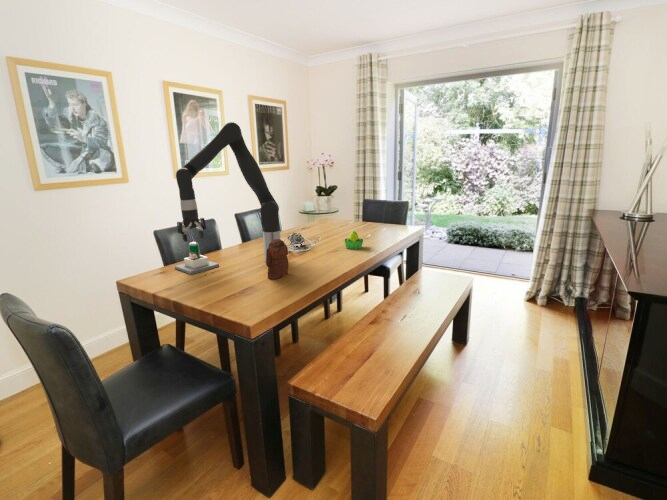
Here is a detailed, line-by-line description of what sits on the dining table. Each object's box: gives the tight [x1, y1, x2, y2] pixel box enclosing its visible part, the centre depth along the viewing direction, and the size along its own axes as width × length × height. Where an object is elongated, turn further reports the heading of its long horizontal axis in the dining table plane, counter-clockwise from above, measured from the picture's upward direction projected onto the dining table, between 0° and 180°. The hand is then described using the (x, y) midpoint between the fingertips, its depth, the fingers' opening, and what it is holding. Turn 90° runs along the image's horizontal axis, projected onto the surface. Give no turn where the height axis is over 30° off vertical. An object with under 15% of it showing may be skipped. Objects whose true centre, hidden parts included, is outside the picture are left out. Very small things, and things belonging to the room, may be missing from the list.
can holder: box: [174, 254, 220, 275], centre depth 184 cm, size 16×16×6 cm
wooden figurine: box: [265, 238, 289, 280], centre depth 167 cm, size 12×6×18 cm, turn 151°
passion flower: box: [287, 231, 307, 246], centre depth 221 cm, size 11×11×12 cm
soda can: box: [188, 241, 201, 260], centre depth 182 cm, size 5×5×12 cm
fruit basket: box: [344, 230, 364, 250], centre depth 215 cm, size 11×9×11 cm
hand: (193, 239), depth 181 cm, fingers open, 8 cm apart
